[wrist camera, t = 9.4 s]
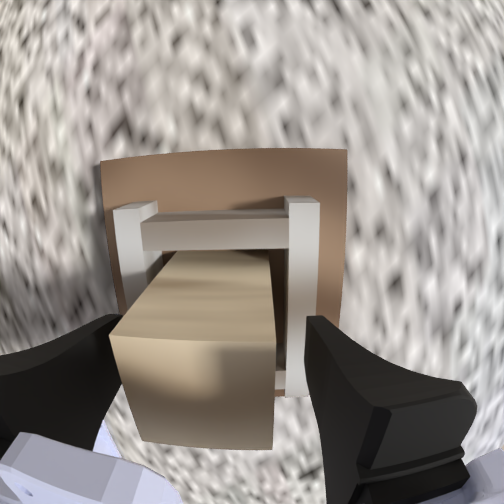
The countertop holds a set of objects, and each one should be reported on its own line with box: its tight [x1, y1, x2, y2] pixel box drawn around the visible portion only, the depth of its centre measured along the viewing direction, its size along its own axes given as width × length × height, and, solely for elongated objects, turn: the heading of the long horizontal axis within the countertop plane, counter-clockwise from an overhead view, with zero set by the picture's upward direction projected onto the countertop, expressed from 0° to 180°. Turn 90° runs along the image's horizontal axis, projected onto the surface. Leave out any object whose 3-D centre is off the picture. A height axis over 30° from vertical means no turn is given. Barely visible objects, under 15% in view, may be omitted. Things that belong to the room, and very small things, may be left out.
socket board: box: [100, 148, 347, 398], centre depth 15 cm, size 14×12×4 cm
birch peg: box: [109, 250, 276, 450], centre depth 12 cm, size 4×4×8 cm
